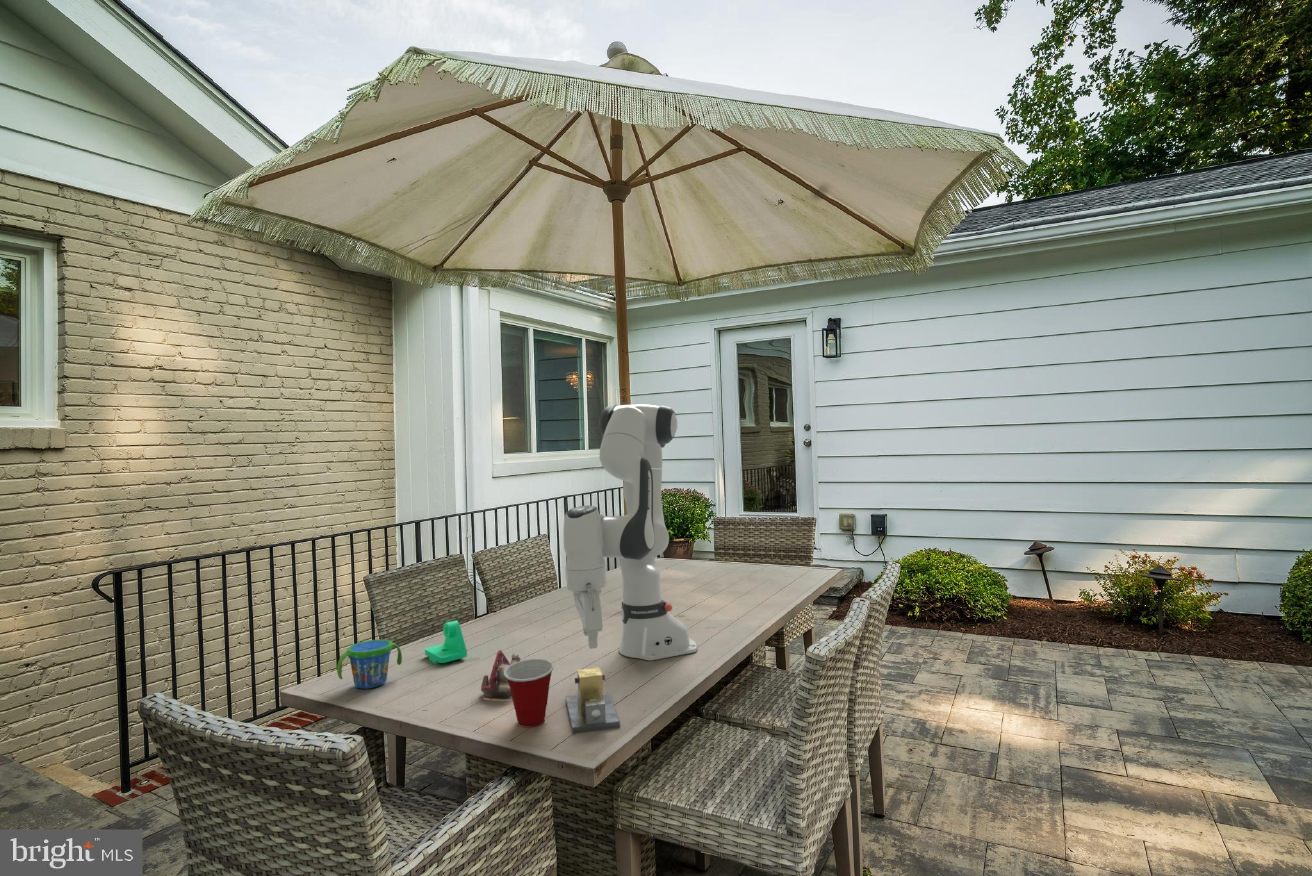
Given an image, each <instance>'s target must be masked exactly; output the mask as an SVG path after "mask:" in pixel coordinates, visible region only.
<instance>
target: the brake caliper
mask: <svg viewBox="0 0 1312 876" xmlns="http://www.w3.org/2000/svg"><path fill="white" fill-rule="evenodd" d="M519 661H522V659H521V657H519V654H515V653H512V655H511V661H509V659H507V657H506V656H505V653H503V650H501V649H499V650H497V653H496V656H495V660H494V662H493V663H494V664H492V669H491V672H490V677H489V675H488V674H484V675H483V678H482V682H481V686H480V691H481V693H483V694H484V696H485V697H484V698H483V701H491V702H513V699H512V698H511V699H508V698H509V697H510V695H511V690H510V687H509V683H508V681H507V678H506V677H505V676H504V670H505V669H506V668H507V667H508V666H510V665H512V664H514V663H516V662H519ZM505 698H506V699H505Z"/></svg>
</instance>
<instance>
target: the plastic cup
mask: <svg viewBox="0 0 1312 876" xmlns="http://www.w3.org/2000/svg"><path fill="white" fill-rule="evenodd" d="M553 670H554V663H553V662H552V661H550V660H549V659H545V658H529V659H521V660H520V661H519V662H516V663H514V664H512V665H510V666H508V667H507V668H506V669H505V670H504V676H505V677H506V678H507V681H508V683H509V687H510V690H511V694H510V695H511V700H512V704H513V708H514V710H515V716H516V720H517V723H518V725H519V726H521V727H524V728H531V727H536V726H539V725H542V724H543V723H544V721H545V718H546V712H547V706H548V698H549V690H550V682H551V676H552V672H553Z"/></svg>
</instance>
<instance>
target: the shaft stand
mask: <svg viewBox="0 0 1312 876" xmlns="http://www.w3.org/2000/svg"><path fill="white" fill-rule="evenodd" d="M565 703H566V708H567V709H566V710H567V713H568V718H569V722H570V726H571V731H572V734H579V733H585V732H592V731H599V730H605V729H609V730H610V729H615V728H620V727H621V721H620V718H619V715H618V713H617V711H616V708H615V706H614V703H613V701H612V698H611V696H610V694H609V691H608V690H607V691H603V699H602V700H597V699H595V698H592V699H590V700H588V701H586V702H585V714H581V713H580V709H579V705H578V694H576V695H568V696H565Z"/></svg>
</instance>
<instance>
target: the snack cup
mask: <svg viewBox="0 0 1312 876" xmlns="http://www.w3.org/2000/svg"><path fill="white" fill-rule="evenodd" d="M392 647H395V648H396V649H397V658H396V664H397V665H399V666H400V665H402V662H403V655H402V650H401V648H400V647H399V645H397V644H396V643H393V642H392V641H390V640H388V639H387V640H386V639H372V640H371V639H370V640H364V641H361V642H357V643H354V644H352V645H350V646H348V647H347V649H346V651H345V652H344V653H343V654H342V655H341V656H340V658H339V659H338V661H337V666H336V672H337V676H338V679H340V680H343V676H342V673H343V669H342V668H343V661H344V660H345V659H346V658H349V660H350V666H351V667H350V668H351V673H352V678H353V683H354V687H355V688H356V689H362V690H363V689H364V690H366V689H367V690H369V689H373V688H375V687H379V686H384V683H386V682H387V678H388V672H389V662H390V657H391V656H390V655H391V652H392Z"/></svg>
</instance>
